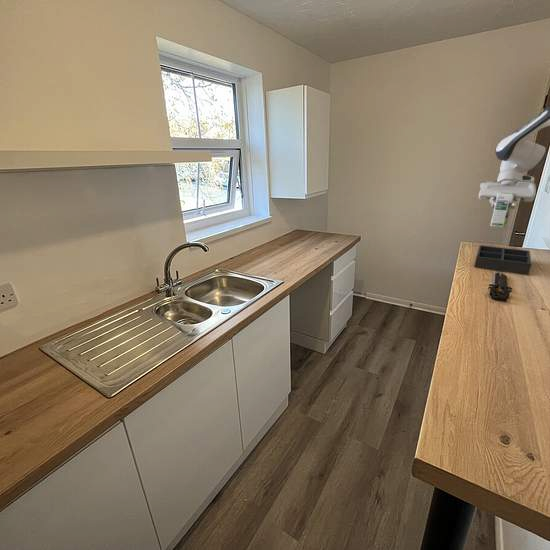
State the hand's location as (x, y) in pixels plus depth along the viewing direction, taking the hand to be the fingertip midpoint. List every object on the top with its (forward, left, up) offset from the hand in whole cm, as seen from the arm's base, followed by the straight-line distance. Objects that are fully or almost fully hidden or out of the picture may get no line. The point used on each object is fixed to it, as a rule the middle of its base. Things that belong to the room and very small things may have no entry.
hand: (502, 207), depth 132 cm
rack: (+1, +18, -20) cm, 27 cm away
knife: (+8, +42, -20) cm, 48 cm away
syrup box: (0, -1, -9) cm, 9 cm away
